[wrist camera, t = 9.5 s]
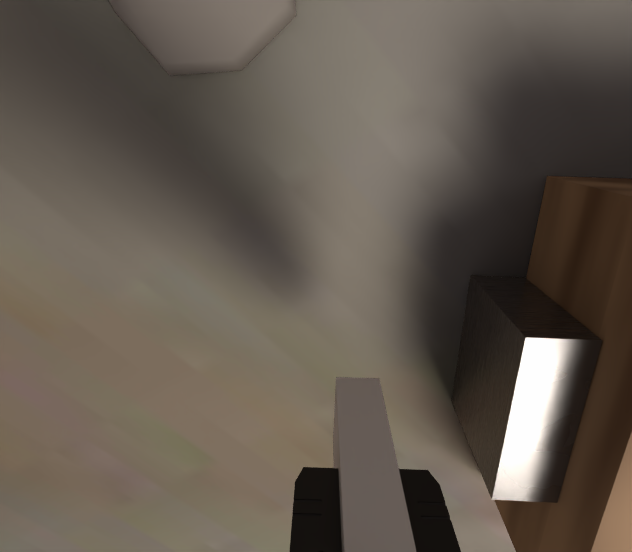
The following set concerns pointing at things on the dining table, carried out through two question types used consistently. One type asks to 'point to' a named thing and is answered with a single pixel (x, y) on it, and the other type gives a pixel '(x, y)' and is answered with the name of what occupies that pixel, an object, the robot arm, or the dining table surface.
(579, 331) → the dark grey block
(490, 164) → the dining table surface
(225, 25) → the flask
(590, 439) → the block
